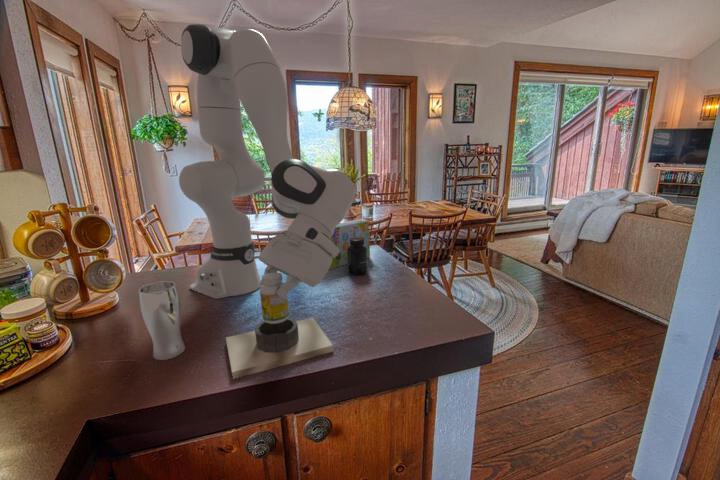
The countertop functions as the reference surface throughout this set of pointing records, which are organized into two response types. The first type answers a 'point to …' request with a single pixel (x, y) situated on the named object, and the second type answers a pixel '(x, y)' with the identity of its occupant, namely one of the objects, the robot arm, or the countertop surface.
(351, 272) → the supplement bottle
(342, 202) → the robot arm
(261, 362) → the collar stand
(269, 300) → the supplement bottle
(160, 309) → the beer glass
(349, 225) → the snack box
